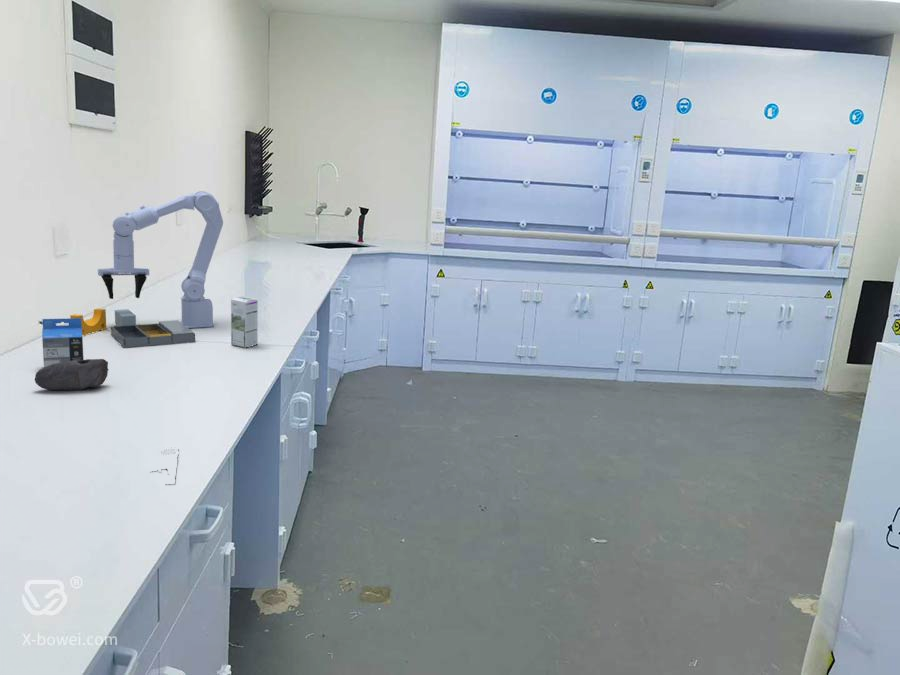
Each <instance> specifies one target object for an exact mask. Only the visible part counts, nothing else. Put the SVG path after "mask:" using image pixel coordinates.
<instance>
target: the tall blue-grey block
mask: <svg viewBox="0 0 900 675" xmlns="http://www.w3.org/2000/svg"><path fill="white" fill-rule="evenodd" d="M115 324H116V325H117V326H129V325H137V317H136V314H135V313H134V312H132V311H131V310H129V309H128V308H126V309H114V325H115ZM116 325H115V326H116Z"/></svg>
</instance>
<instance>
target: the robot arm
mask: <svg viewBox="0 0 900 675" xmlns="http://www.w3.org/2000/svg"><path fill="white" fill-rule="evenodd" d="M184 209H185V210H192V211H195V209H196V210H197V211H198V212H199V213H200V214H201V215H202V217H203V219H204V221H205V222H206V225H205V227H204V230H203V233H202V237H201V239H200V242H199V246H198V248H197V251H196V254H195V257H194V260H193V263H192V266H191V268H190V270H189V272H188V274H187V277H186V278H184V280H183V281H182V283H181V290H182V292H183V296H182V297H181V303H180V304H181V321H179V322H180V323H182V324H183V325H185V326H186V327H187V328H189V329H197V328H210V327H215V326H214V313H213V311H214V307H213V302H212V299H210V298H205V296H204V295H205V291H206V290H205V283H206V277H207V272H208V269H209V266H210V263H211V261H212V258H213V255H214V251H215V249H216V246H217V242H218V240H219V239H220V238H219V237H220V234H221V232H222V228H223V226H224V220H223V216H222V212H221V209H220V203H219V202H218V201H217V199H216V198H215V197H214V195H213V194H211V193H209V192H207V191H203V190H202V191H201V190H200V191H197V192H195V193H189V194H185V195H181V196H179V197H177V198H175V199H173V200H170V201H168V202H165V203H163V204H160V205H159V206H157V207H153V206H150V205H147V206H145V205H141V206H140V208H139V209H137V210H134V211H131V212H128V211H127V212H125V213H124V215H119V216H117V217H115V219H114V220H113V222H112V229H113V231H114V233H113V239H112V240H113V243H112V244H113V246H112V247H113V267H109V268H108V267H107V268H97V275H98V276H99V277H101V279H102V281H103V283H104V285H105V287H106V289H107V292H108V298H109V299H110V300H113V299H114V277H113V276H134V284H135V285H134V286H135V290H134V295H135V298H136V299H140V296H141V292H142V288H143V287H144V285H145V282H147V277H148V276H150V269H149V268H138V267H137V268H135V250H134V248H135V247H134V244H135V243H134V242H135V241H134V240H133V239H134V237H133V233H134V231H140V230H142V229H145V228H147V227H148V228H149V227H150V226H153V225H155V224H158V222H159V219H160V218H161V217H163V216H167V215H170V214H172V213H175V212H179V211H180V210H181V211H182V210H184Z"/></svg>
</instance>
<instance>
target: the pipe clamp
mask: <svg viewBox="0 0 900 675" xmlns="http://www.w3.org/2000/svg"><path fill="white" fill-rule="evenodd" d="M106 312H107V310H106V309H105V308H94V309H93V314H92V317H91V318H87V319H86V320H85V319H84V316H83V314H77V313H76V314H75V313H73V314H71V315H70V316H69V318H71V319H72V318H81V324H82V335H84V336H87V335H86V334H88V333H91V334H93V333H92V332H94V333H97V332H96V331H98V332H100V331H99V330H101V331H103V330H102V329H104V330H107V313H106ZM88 335H89V334H88Z"/></svg>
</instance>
